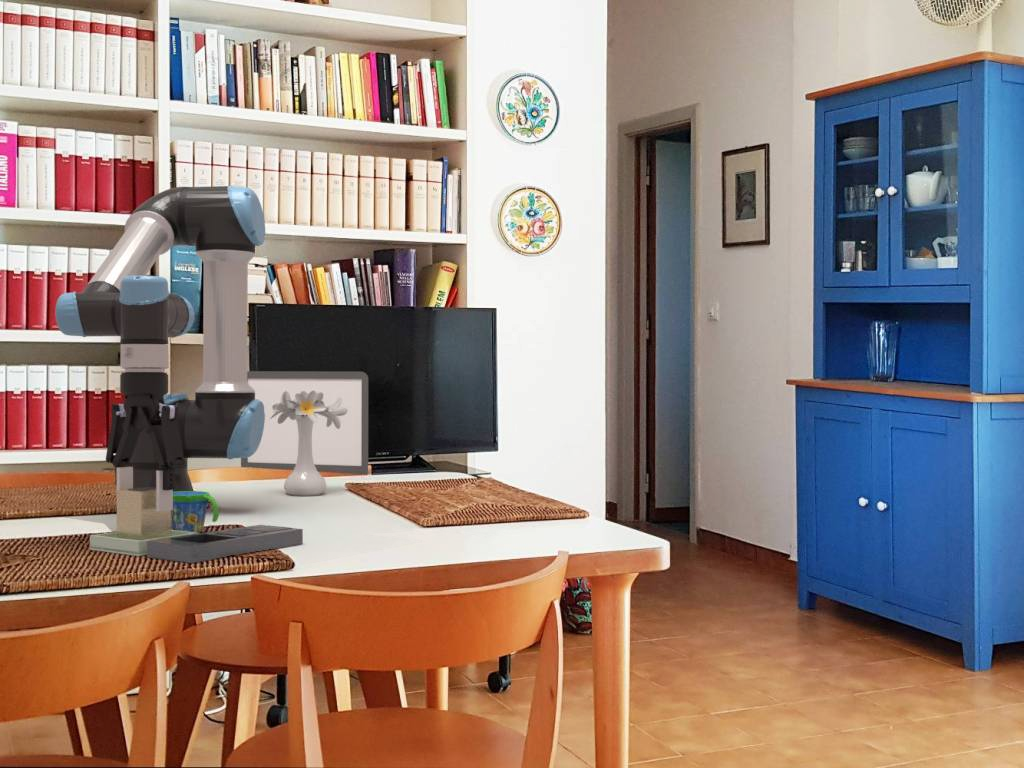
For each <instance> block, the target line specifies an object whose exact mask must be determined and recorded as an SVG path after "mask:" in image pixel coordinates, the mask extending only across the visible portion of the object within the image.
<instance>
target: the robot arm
mask: <svg viewBox="0 0 1024 768" xmlns="http://www.w3.org/2000/svg"><path fill="white" fill-rule="evenodd" d="M264 215H265V214H264V212H263V208H262V204H261V201H260V199H259V196H258V195H257V193H256V192H255V191H254V190H253V189H252V188H250V187H246V186H233V185H228V186H227V185H225V186H224V185H223V186H221V185H219V186H217V185H215V186H213V185H212V186H176V187H171V188H168V189H165V190H163V191H161V192H159V193H156V194H155V195H153V196H152V197H150V198H148V199H146V200H145V201H144V202H143V203H141V204H140V205H139V206H137V208H136V209H134V210H133V212H131V214H130V215H129V217H127V219H126V221H125V225H124V233H123V235H122V236H121V237H120V239H119V240H118V241H117V243H116V244H115V245H114V247H113V248H112V250H111V251H110V252H109V254H108V255H107V256H106V258H105V259H104V260H103V262H102V263H101V265H100V266H99V267H98V269H97V270H96V272H95V273H94V275H93V276H92V277H91V279H90V280H89V282H88V283H86V286H85V287H84V288H83V290H82V291H81V292H77V291H72V292H65V293H63V294H61V295H60V296H59V297H58V299H57V301H56V304H55V311H54V314H55V320H56V321H55V322H56V324H57V327H58V329H59V331H60V332H61V334H64V335H65V336H70V337H82V338H86V337H120V342H119V344H120V366H119V367H120V368H121V369H123V370H124V372H121V374H119V377H120V378H119V379H120V380H119V392H120V394H121V395H123V396H125V399H124V403H114V404H111V409H110V410H111V422H110V428H109V436H108V442H107V448H106V455H105V461H106V463H108V464H109V463H110V464H112V466H113V467H114V473H115V475H114V476H115V477H114V478H115V480H114V483H115V486H116V491H117V490H121V489H131V488H141V487H153V488H156V511H167V510H173V492H176V491H194V487H193V485H192V481H191V478H190V475H189V470H188V459H228V460H234V459H241V458H247V457H250V456H252V455H253V454H254V453H255V452H256V450H257V449H258V447H259V444H260V442H261V438H262V434H263V430H264V422H265V412H264V405H263V403H262V401H259V400H258V399H255V390H254V389H253V388H252V387H251V386H250V385H249V384H248V382H247V371H248V299H249V297H248V294H249V293H248V292H249V289H248V288H249V287H248V284H249V283H248V278H249V276H248V273H249V272H248V269H249V267H248V266H249V263H250V261H251V260H252V259H253V258H254V257H256V247H259V246H262V245H263V244H264V243H265V240H266V238H265V236H266V224H265V223H266V222H265V216H264ZM177 246H179V247H180V246H195V255H196V256H197V257H198V258H199V259H200V260H201V261H202V262H203V305H202V306H203V309H202V310H203V324H202V325H203V327H202V329H203V335H202V336H203V339H202V340H203V341H202V342H203V349H202V350H203V351H202V352H203V353H202V354H203V357H202V358H203V361H202V362H203V363H202V364H203V366H202V367H203V368H202V372H203V373H202V374H203V377H202V379H203V382H202V383H201V385H199V387H198V388H196V389H195V393H194V394H195V395H194V396H195V399H189V396H188V394H187V393H186V392H181V393H180V392H179V393H171V394H169V374H168V372H165V369H166V370H167V369H168V368H169V366H170V363H169V338H172V339H174V338H176V337H181V336H183V335H185V334H186V333H188V332H189V331H190V330H191V328H192V327H193V325H194V322H195V317H196V315H195V310H194V307H193V305H192V303H191V302H190V301H189V299H187V298H185V297H183V296H181V295H180V294H178V293H176V292H170V291H169V282H168V280H167V278H165V277H163V276H157V275H148V273H149V272H150V270H151V269H152V267H153V265H154V264H155V263H156V261H157V260H158V258H159V257H160V256H161V255H164V254H166V253H167V252H169V251H170V249H171V248H172V247H177Z"/></svg>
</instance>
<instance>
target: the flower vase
mask: <svg viewBox="0 0 1024 768" xmlns="http://www.w3.org/2000/svg"><path fill="white" fill-rule="evenodd" d="M322 399H323V393H322V392H319V393H316V391H314V390H313V391H311V392H310V393H309V394H308V393H307V392H305V391H302V392H301V394H298V393H297V394H295V399H294V400H293V401H291V397H290V395H289V393H288V392H287V391H286V390H285V392H283V394H282V396H281V402H280V403H276V404H274V405H273V406H272V408H273V412H275V413H274V414H273V415H272V417H271V418H273V417H274V416H276V415H277V414H279V413H281V412H283V413H282V414H281V415H280V416H279V418H278V423H279V424H281V423H283V422H284V421H285V420H286V419H287V418H288V417H289V418H290V419H292V420H295V419H296V421H297V426H298V436H299V440H298V458H297V463H296V466H295V468H294V470H292V472H290V474H289V475H288V476H287V477H286V479H285V480H284V483H283V489H284V491H285V492H286V494H287V495H289V496H294V497H315V496H321V495H322V494H323V493H324V492H325V490H326V489H327V484H326V483H327V482H326V480H325V478H324V477H323V475H322V474H321V473H320V472H318V471H317V469H316V467H315V465H314V462H313V455H312V428H313V422H316V421H317V415H316V413H317V414H319V415H322V416H325V417H326V418H327V424H326V425H327V427H329V426H330V425H331V423H332V422H333V423H334V425H335V427H336V428H337V429H339V428H340V425H341V423H340V419H339V418H338V417H337V416H343V415H345V414H346V413H347V412H348V409H347V408H345V407H340V408H337V407H339V406H340V404H341V401H342V398H341V397H340V398H338V399H337V401H336V402H335V403H334V405H333V406H332V405H329V406H328V407H326V406H325V405H324V402H323V401H322ZM327 412H328V413H327ZM304 414H307V415H304ZM271 418H270V419H271ZM270 419H269V420H270ZM331 420H332V421H331Z"/></svg>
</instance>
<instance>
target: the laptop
mask: <svg viewBox="0 0 1024 768" xmlns="http://www.w3.org/2000/svg"><path fill="white" fill-rule="evenodd" d="M247 382H248V384H249V385H250V386H251V387H252V388H253V389H254V390H255V399H258V400H259V401H262V403H263V405H264V412H265V422H264V430H263V434H262V438H261V442H260V444H259V447H258V449H257V450H256V452H255V453H254V454H253V455H252V456H250V457H247V458H240V468H250V467H251V468H254V469H255V468H256V469H267V470H268V469H270V470H271V469H272V470H285V471H286V470H287V471H293V470H294V468H295V466H296V463H297V458H298V440H299V436H298V426H297V421H296V419H295V420H292V419H290V418H289V417H288V418H287V419H286V420H285V421H284V422H283V423H281V424H279V423H278V418H279V416H280V415H281V414H282V413H283V412H281V413H279V414H277V415H276V416H274V417H273V418H271V417H272V415H273V414H274V413H275V412H273V408H272V406H273V405H274V404H276V403H280V402H281V396H282V394H283V392H285V390H286V391H287V392H288V393H289V395H290V397H291V401H293V400H294V399H295V394H297V393H298V394H301V392H302V391H305V392H307V393H308V394H309V393H310V392H311V391H313V390H314V391H316V393H319V392H322V393H323V399H322V401H323V402H324V405H325V406H326V407H328V406H329V405H332V406H333V405H334V403H335V402H336V401H337V399H338V398H340V397H341V398H342V401H341V404H340V406H339V407H337V408H340V407H345V408H347V409H348V412H347V413H346V414H345V415H343V416H337V417H338V418H339V419H340V423H341V425H340V428H339V429H337V428H336V427H335V425H334V423H333V422H332V423H331V425H330V426H329V427H327V425H326V424H327V418H326V417H325V416H322V415H319V414H317V413H316V415H317V421H316V422H313V428H312V455H313V462H314V465H315V467H316V469H317V471H318V472H319V473H334V474H349V475H350V474H351V475H353V474H354V475H366V476H367V475H369V376H368V374H367V373H366V372H364V371H320V370H319V371H318V370H317V371H314V370H312V371H310V370H309V371H292V370H291V371H286V370H285V371H279V370H278V371H276V370H275V371H274V370H273V371H271V370H270V371H268V370H266V371H264V370H262V371H260V370H259V371H258V370H255V371H254V370H251V371H248V370H247ZM327 413H328V412H327ZM304 415H307V414H304ZM270 418H271V419H270ZM269 419H270V420H269ZM331 421H332V420H331Z"/></svg>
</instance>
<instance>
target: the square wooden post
mask: <svg viewBox="0 0 1024 768" xmlns="http://www.w3.org/2000/svg"><path fill="white" fill-rule="evenodd" d="M116 532H117V538H122V539H130V540H138V541H140V540H147V539H154V538H161V537H168V536H171V510H167V511H156V488H153V487H141V488H131V489H121V490H117V489H116Z"/></svg>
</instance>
